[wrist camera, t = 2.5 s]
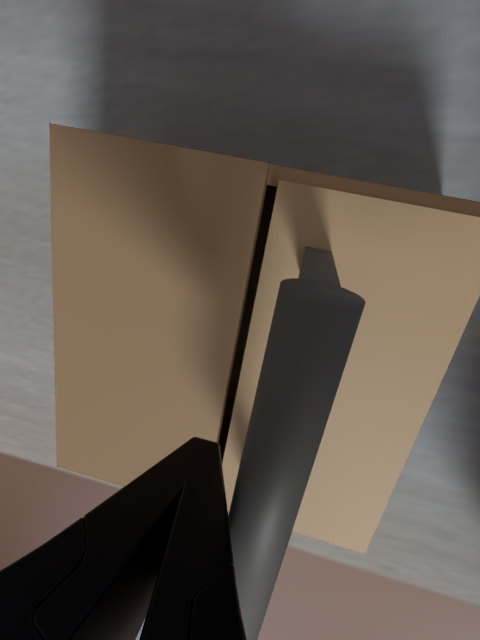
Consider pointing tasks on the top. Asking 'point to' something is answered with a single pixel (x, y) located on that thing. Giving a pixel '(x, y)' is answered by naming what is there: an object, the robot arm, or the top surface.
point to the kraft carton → (160, 290)
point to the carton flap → (338, 370)
